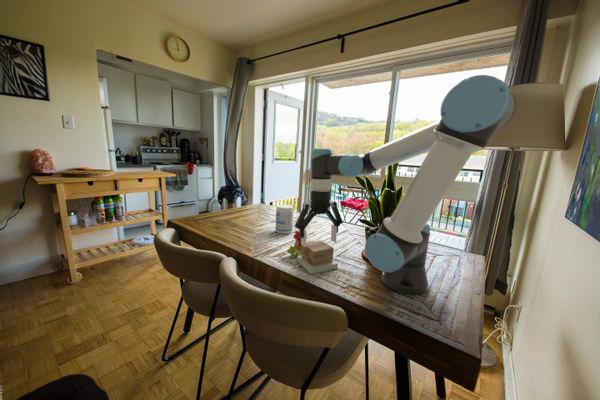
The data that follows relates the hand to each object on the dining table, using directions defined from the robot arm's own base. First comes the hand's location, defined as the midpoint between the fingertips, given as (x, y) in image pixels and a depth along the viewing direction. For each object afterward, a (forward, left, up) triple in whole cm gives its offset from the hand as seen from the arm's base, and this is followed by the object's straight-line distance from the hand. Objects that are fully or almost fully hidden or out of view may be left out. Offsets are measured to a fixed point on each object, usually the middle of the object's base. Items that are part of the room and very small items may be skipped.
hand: (318, 243), depth 96 cm
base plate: (+1, 0, -9) cm, 9 cm away
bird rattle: (+13, +3, -10) cm, 16 cm away
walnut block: (+1, 0, -7) cm, 7 cm away
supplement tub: (+44, -3, -10) cm, 45 cm away
